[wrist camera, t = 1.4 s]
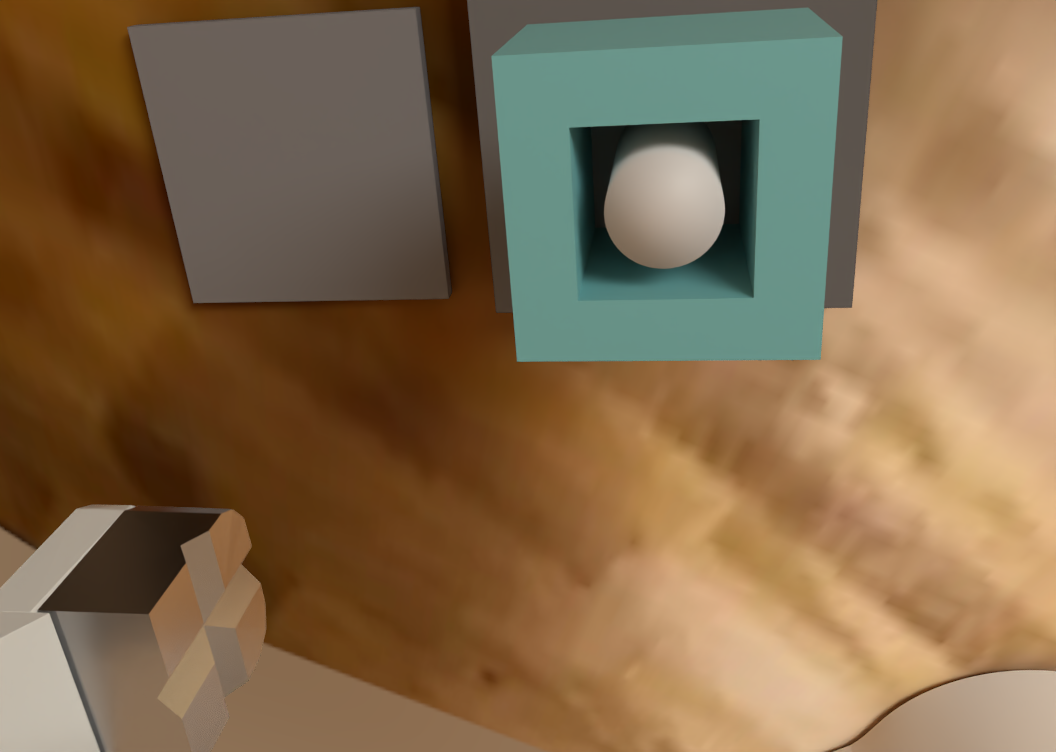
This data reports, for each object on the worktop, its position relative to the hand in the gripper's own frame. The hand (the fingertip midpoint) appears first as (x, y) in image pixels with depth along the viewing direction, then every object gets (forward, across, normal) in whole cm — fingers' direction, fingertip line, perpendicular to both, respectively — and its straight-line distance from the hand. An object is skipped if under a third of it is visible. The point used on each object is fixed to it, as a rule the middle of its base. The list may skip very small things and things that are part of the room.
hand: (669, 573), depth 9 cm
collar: (+16, 0, 0) cm, 17 cm away
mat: (+26, +13, +2) cm, 29 cm away
